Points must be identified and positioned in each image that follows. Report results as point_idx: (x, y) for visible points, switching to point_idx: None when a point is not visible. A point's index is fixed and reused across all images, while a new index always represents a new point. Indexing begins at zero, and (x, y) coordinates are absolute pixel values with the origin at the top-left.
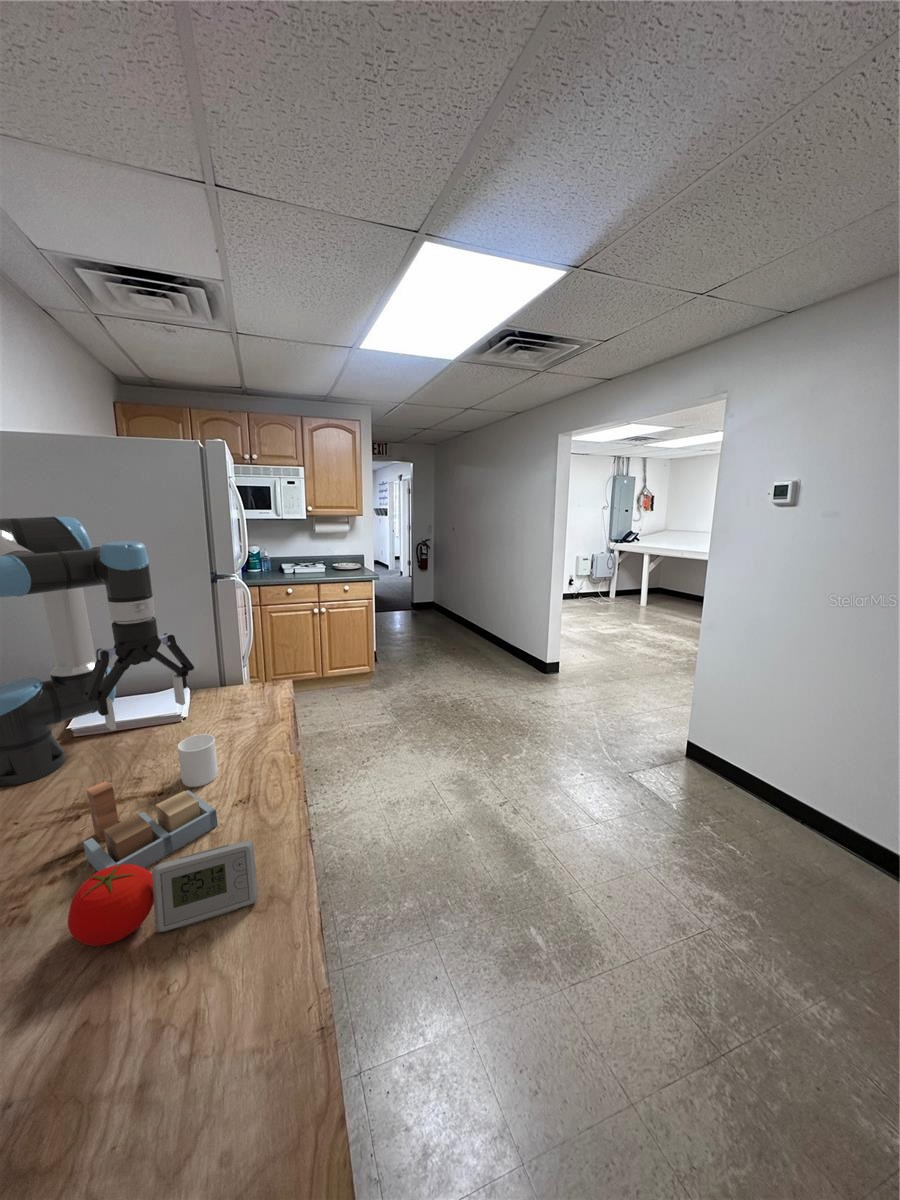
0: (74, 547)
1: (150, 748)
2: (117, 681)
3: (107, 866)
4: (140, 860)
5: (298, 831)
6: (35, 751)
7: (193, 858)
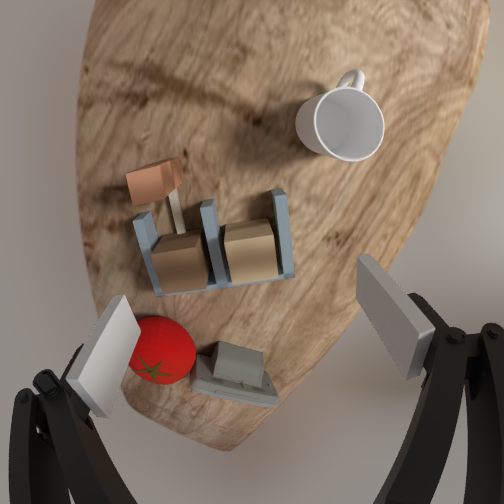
0: None
1: None
2: (120, 480)
3: (155, 290)
4: None
5: (343, 330)
6: None
7: (226, 398)
